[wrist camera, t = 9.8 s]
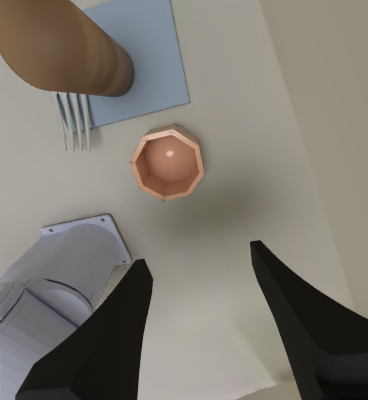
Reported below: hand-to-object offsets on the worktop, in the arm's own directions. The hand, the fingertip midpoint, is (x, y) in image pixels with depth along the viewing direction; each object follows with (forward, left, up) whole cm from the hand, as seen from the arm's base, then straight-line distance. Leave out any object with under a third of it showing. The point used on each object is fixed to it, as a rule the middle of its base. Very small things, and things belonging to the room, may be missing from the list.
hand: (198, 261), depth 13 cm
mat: (-4, +13, -10) cm, 18 cm away
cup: (-1, +5, -10) cm, 12 cm away
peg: (-4, +13, -10) cm, 17 cm away
